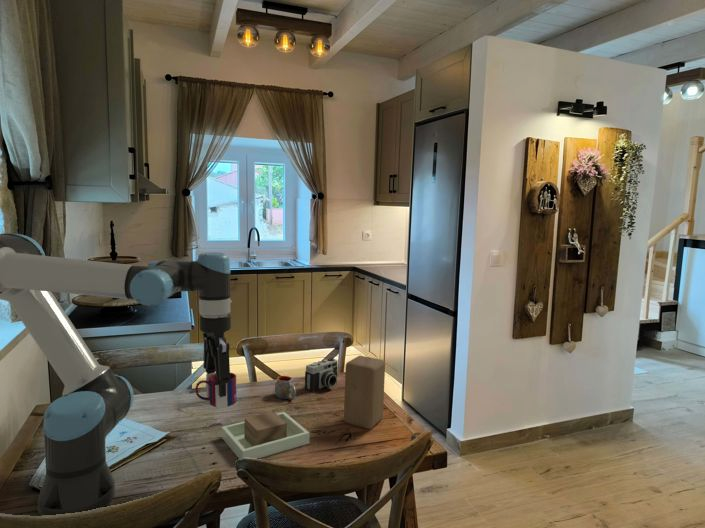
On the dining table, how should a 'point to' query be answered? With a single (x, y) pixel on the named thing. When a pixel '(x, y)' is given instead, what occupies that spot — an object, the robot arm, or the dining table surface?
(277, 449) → the tray
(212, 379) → the cup
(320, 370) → the camera
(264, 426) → the walnut block
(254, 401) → the dining table surface
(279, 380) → the mug
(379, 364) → the wooden block
